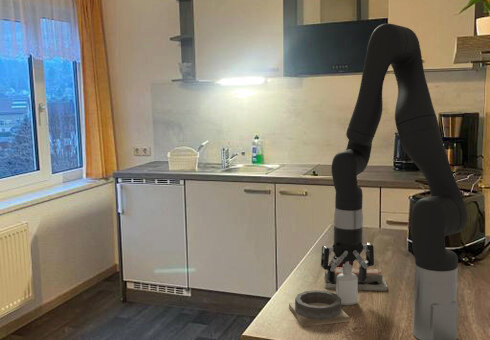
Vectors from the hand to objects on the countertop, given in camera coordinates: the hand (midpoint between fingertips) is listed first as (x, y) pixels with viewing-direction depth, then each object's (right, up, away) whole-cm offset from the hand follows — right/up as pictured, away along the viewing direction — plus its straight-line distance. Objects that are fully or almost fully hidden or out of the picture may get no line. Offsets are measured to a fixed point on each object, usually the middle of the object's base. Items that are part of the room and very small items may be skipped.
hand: (347, 282), depth 144 cm
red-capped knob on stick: (+4, -2, +27) cm, 28 cm away
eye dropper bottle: (0, -6, 0) cm, 6 cm away
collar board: (-9, -7, -7) cm, 13 cm away
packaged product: (+5, -4, +14) cm, 16 cm away
